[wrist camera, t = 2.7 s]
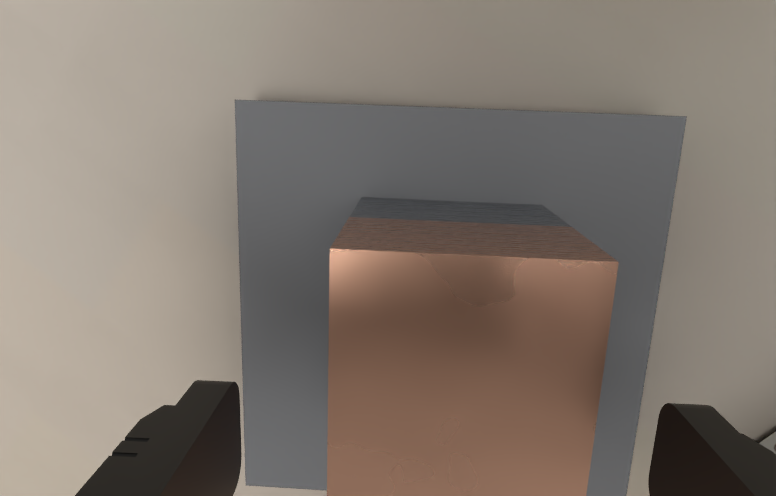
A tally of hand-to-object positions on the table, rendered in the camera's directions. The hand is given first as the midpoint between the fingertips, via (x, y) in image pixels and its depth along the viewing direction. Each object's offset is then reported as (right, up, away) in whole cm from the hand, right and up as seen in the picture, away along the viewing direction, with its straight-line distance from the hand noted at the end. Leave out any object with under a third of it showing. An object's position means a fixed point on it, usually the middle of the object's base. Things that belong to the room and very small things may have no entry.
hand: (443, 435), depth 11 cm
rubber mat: (+1, +2, +8) cm, 8 cm away
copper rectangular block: (+1, +1, +6) cm, 6 cm away
